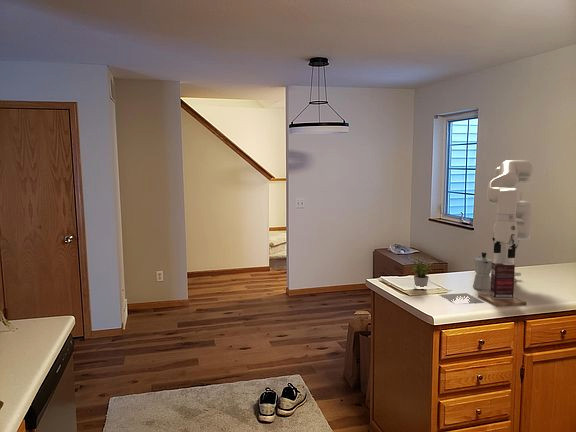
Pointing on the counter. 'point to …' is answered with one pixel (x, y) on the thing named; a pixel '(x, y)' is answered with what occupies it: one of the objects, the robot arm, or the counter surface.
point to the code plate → (454, 296)
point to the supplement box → (502, 280)
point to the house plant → (421, 273)
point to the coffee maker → (482, 273)
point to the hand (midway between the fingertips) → (503, 255)
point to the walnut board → (501, 301)
